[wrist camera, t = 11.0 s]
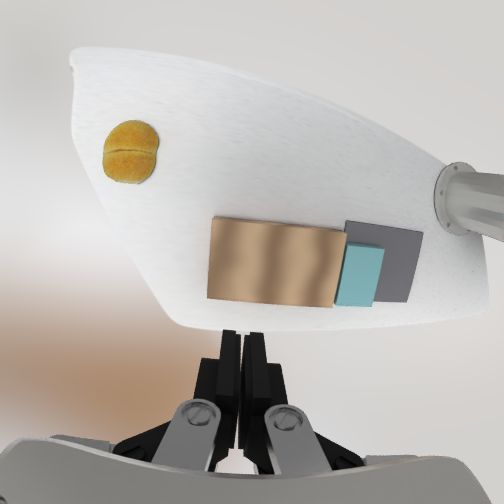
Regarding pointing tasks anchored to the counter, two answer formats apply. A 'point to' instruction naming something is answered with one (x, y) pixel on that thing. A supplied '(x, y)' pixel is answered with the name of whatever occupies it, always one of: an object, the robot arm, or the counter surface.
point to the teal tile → (358, 275)
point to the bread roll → (130, 152)
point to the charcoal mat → (390, 257)
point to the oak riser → (274, 262)
